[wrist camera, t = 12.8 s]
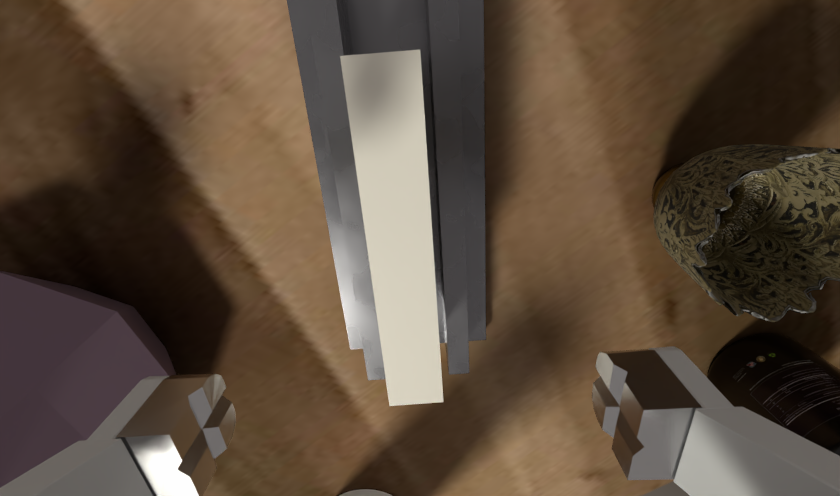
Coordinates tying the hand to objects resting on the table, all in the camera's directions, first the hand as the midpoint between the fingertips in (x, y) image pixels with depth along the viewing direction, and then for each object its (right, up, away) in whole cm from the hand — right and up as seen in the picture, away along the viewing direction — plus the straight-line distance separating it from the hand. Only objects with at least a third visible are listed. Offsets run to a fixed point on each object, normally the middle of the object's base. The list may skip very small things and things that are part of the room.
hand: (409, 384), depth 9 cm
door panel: (-1, +6, +13) cm, 14 cm away
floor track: (-1, +6, +14) cm, 15 cm away
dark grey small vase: (+15, +7, +15) cm, 22 cm away
